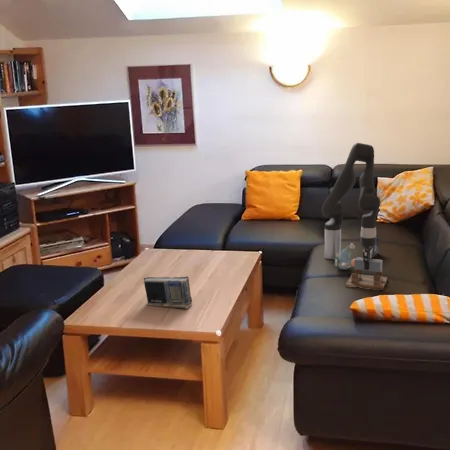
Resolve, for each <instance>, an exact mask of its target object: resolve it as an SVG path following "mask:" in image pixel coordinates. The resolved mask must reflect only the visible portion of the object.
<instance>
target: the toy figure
mask: <svg viewBox="0 0 450 450" xmlns="http://www.w3.org/2000/svg"><path fill="white" fill-rule="evenodd" d="M355 248H356V246H355V244H354V243H353V242H351V243H350V244H349V245H347V246H346V247H344V248H343V249H342V250H341V253H340V255H339V259H338V253H337V254H336V257H335V259H334V266H335V267H338V268H339V269H340V270H343V271H346V270H348V269H349V268H352V265H351V261H352V260H353V259H351V252H349V249H351V250H355Z"/></svg>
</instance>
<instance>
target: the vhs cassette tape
mask: <svg viewBox="0 0 450 450" xmlns="http://www.w3.org/2000/svg"><path fill="white" fill-rule="evenodd" d="M379 240H380V238H379V237H377V236H376V245H374V246H373V250H372V257H374V256H375V255H376V254H377V253H378V254H379V242H380V241H379ZM364 247H365V246H363V245H362V250H363V249H364ZM376 256H377V255H376ZM376 256H375V257H376ZM375 257H374V258H375Z"/></svg>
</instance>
